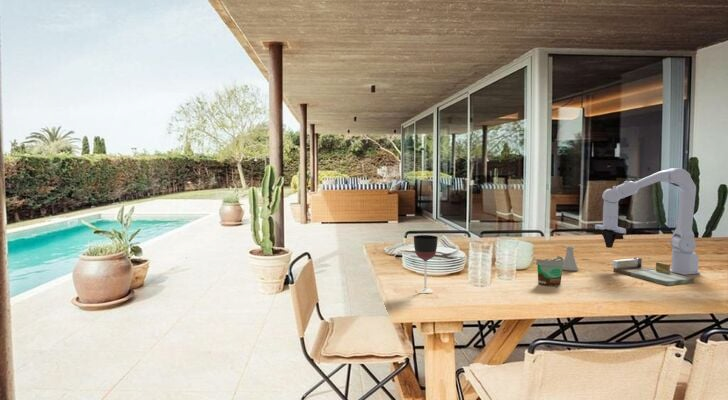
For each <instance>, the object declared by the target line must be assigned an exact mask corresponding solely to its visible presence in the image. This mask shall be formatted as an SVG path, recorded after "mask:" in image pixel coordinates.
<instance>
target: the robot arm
mask: <svg viewBox="0 0 728 400" xmlns="http://www.w3.org/2000/svg"><path fill="white" fill-rule="evenodd" d="M691 176H692V175H691V173H690V172H688V171H687V170H685V169H684V168H681V167H678V168H674V167H670V168H666V169H664V170H660V171H657V172H655V173H652V174H651V175H648V176H645V177H643V178H641V179H639V180H636V181H632V180H625V181H623V183H621V184H618V185H613V186H612V188H607V189H605V190H604V191H603V192H602V194H601V198H602V200H603V206H602V224H594V229H595V230H600V234H601V235H602V237H603V240H604V243H605V248H609V249H610V248H613V246H614V243H615V241H616V238H617V237H618V235H619V234H627V228H624V227H620V226H618V224H619V222H618V221H619V201H620V200H621V199H625V198H626V197H629V196H632V195H634V194H637V193H638V191H639V190H640V189H643V188H645V187H647V186H650V185H653V184H656V183H659V182H663V183H664V182H665V183H666V182H667V184H670V185H672V186H674V187H675V188H676V189H678V191H680V193H679V201H678V213H677V222H676V227H675V229H674V231H673V235H672V236H671V239H670V241H669V242H670V244H671V246H672V250H671V264H670V273H673V274H677V275H681V276H685V275H695V274H701V272H700V271H699V256H698V254H697V253H696V252H695V249H696V247H697V241H696V240H695V234H694V231H693V223H694V214H695V213H694V212H695V206H696V205H695V202H696V195H697V185H696V184H695V182H694V181H693V179H692V178H691ZM601 230H602V231H601Z"/></svg>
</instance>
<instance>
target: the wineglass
mask: <svg viewBox="0 0 728 400" xmlns="http://www.w3.org/2000/svg"><path fill="white" fill-rule="evenodd" d="M438 238H439V237H438V236H437V235H430V234H420V235H417V234H416V235H414V236H413V246H414V251H415V255H416V256H417V257H418V258H419V259H421V260H422V261H423V262H424V265H423V267H424V271H423V272H424V274H423V275H424V278H423V279H424V282H423V285H424V287H423V288H424V289H421V290H420V291H423V292H432V291H433V290H434V289H433V290H431V289H432V288H428V289H426V288H427V263H428V262H427V261H429V260H431V259H433V258H434V257H435V256H436V253H437V248H438V241H439V239H438Z"/></svg>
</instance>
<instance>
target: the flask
mask: <svg viewBox="0 0 728 400" xmlns="http://www.w3.org/2000/svg"><path fill="white" fill-rule="evenodd" d="M565 249H566V253H565V256H564V258H563V260H564V263H565V265H563V268H562V271H569V272H570V271H571V272H572V271H573V272H574V271H579V267H578V265H577V262H576V259H575V255H574V249H575V247H574V246H569V245H567V246H565Z"/></svg>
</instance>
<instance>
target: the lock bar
mask: <svg viewBox="0 0 728 400" xmlns="http://www.w3.org/2000/svg"><path fill="white" fill-rule="evenodd" d="M642 260H643V259H642V258H641V257H633V258H627V259H626V258H624V259H613V260H612V268H613V269H614V268H626V267H641V266H642V264H643V263H642V262H643V261H642Z"/></svg>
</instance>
